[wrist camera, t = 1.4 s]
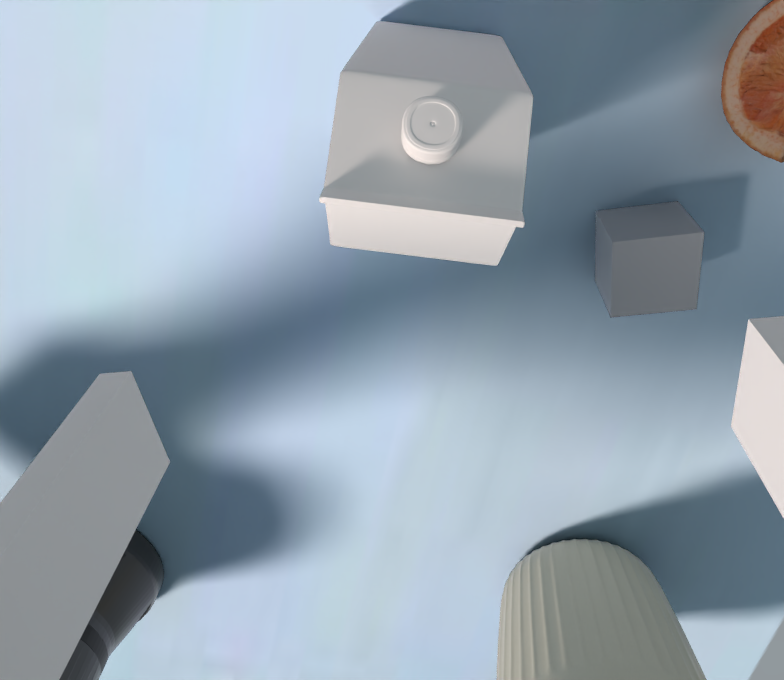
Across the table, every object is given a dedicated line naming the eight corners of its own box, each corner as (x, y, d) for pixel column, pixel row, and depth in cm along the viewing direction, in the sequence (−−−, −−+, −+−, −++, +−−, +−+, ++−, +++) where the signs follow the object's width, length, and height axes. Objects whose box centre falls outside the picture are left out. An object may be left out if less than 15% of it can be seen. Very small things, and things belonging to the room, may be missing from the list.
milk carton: (480, 160, 40) (504, 314, 24) (365, 146, 40) (315, 290, 24) (502, 35, 37) (548, 119, 21) (376, 19, 37) (324, 91, 21)
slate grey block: (594, 280, 44) (610, 317, 40) (595, 210, 42) (612, 242, 38) (672, 272, 44) (696, 309, 39) (677, 200, 41) (704, 232, 37)
